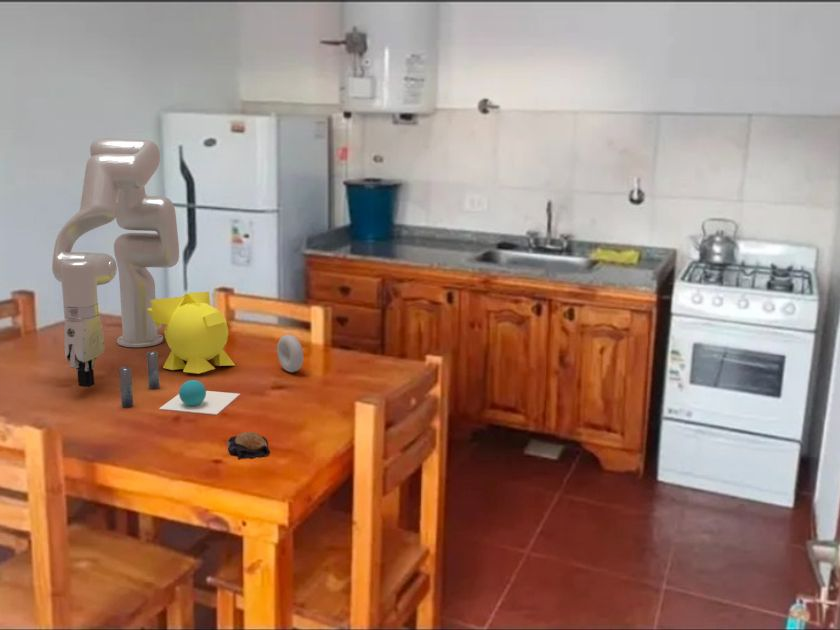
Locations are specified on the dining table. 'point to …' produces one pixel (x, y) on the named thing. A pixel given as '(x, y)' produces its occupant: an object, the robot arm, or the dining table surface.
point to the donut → (290, 353)
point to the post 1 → (126, 387)
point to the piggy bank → (192, 332)
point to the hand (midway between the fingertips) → (86, 385)
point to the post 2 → (153, 370)
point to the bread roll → (248, 446)
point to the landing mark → (203, 403)
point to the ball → (192, 393)
